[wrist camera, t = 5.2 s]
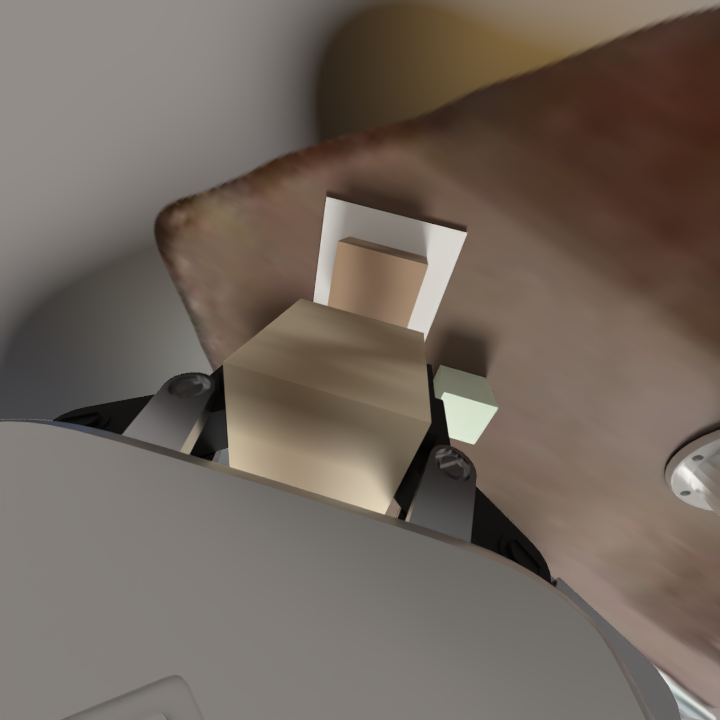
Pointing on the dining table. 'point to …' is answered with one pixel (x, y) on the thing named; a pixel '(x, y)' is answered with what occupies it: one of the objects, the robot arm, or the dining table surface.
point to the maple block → (329, 403)
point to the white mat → (393, 233)
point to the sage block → (464, 402)
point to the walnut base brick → (376, 280)
